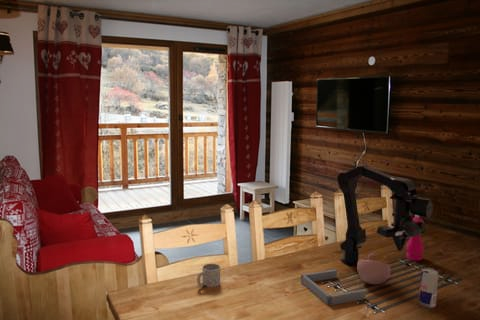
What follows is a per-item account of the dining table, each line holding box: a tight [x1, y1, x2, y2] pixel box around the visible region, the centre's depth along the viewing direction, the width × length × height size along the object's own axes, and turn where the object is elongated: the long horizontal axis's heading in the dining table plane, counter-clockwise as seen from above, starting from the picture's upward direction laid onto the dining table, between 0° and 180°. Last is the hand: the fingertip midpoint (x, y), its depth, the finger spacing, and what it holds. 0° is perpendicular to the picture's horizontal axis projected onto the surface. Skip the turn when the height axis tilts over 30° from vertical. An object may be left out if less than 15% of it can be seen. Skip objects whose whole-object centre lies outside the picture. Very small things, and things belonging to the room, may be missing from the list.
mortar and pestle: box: [356, 252, 391, 286], centre depth 156 cm, size 12×12×11 cm
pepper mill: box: [405, 215, 425, 262], centre depth 181 cm, size 7×7×20 cm
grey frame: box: [300, 269, 367, 306], centre depth 151 cm, size 19×15×3 cm
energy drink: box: [418, 267, 439, 309], centre depth 140 cm, size 5×5×12 cm
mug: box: [196, 263, 221, 288], centre depth 154 cm, size 10×7×7 cm, turn 134°
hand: (399, 250), depth 160 cm, fingers closed
